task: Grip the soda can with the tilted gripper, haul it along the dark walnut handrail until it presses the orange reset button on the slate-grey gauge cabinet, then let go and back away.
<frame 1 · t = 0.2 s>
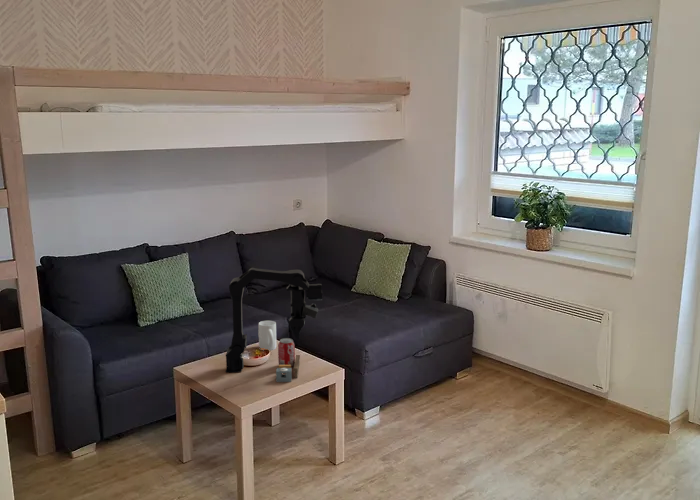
hand: (298, 336, 276), 15 cm above the table, tool pointing down, fingers open, 9 cm apart
soda can: (286, 367, 281), on the table
gauge cabinet: (284, 380, 267), on the table
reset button: (284, 370, 270), point 3 cm above the table, slide at 0.0 cm
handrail: (297, 370, 277), on the table
mug: (268, 349, 302), on the table
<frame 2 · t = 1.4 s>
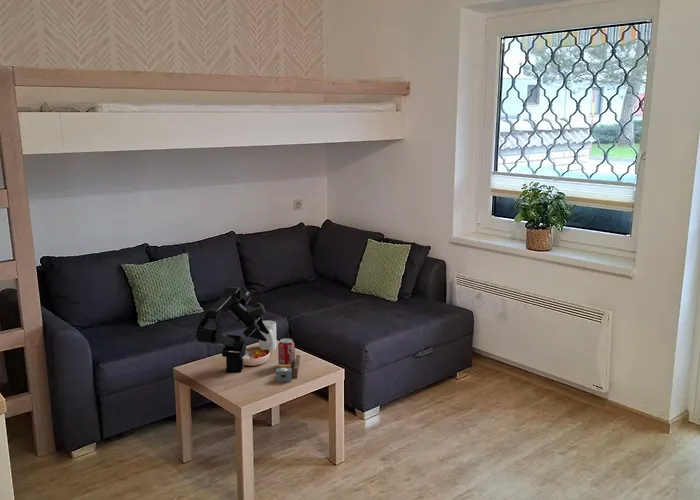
hand: (267, 337, 278), 14 cm above the table, tool tilted 45°, fingers open, 9 cm apart
nothing on the table moved.
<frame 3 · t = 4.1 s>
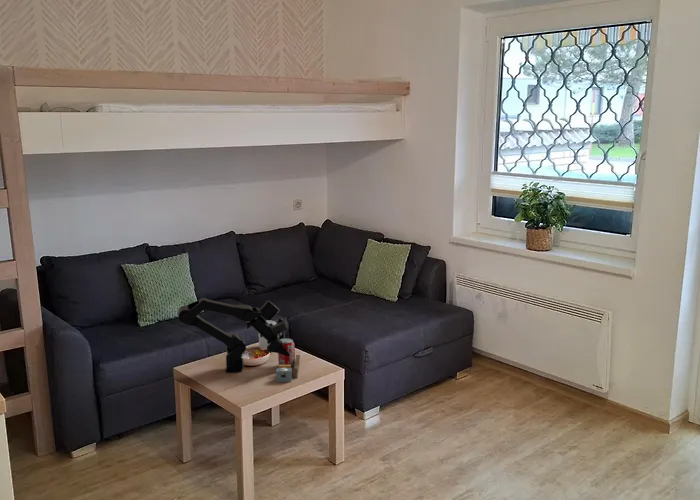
hand: (289, 352, 280), 7 cm above the table, tool tilted 45°, fingers closed on soda can, 7 cm apart
soda can: (286, 367, 281), on the table, touching gripper
everything else where it was.
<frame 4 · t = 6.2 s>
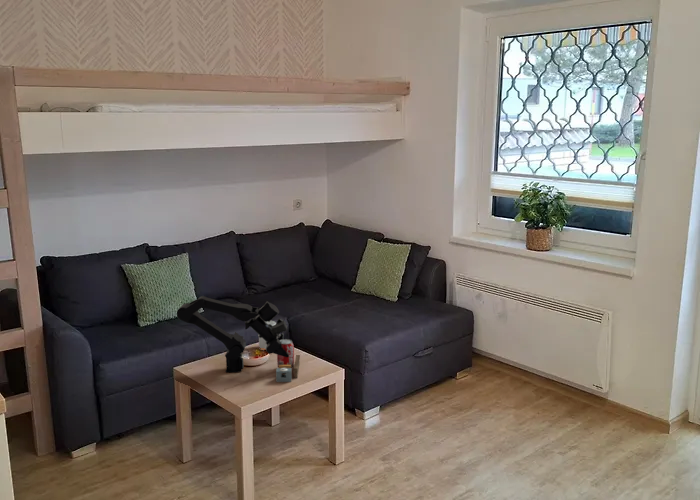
hand: (288, 353, 277), 7 cm above the table, tool tilted 45°, fingers closed on soda can, 7 cm apart
soda can: (285, 368, 278), on the table, touching gripper
everything else where it was.
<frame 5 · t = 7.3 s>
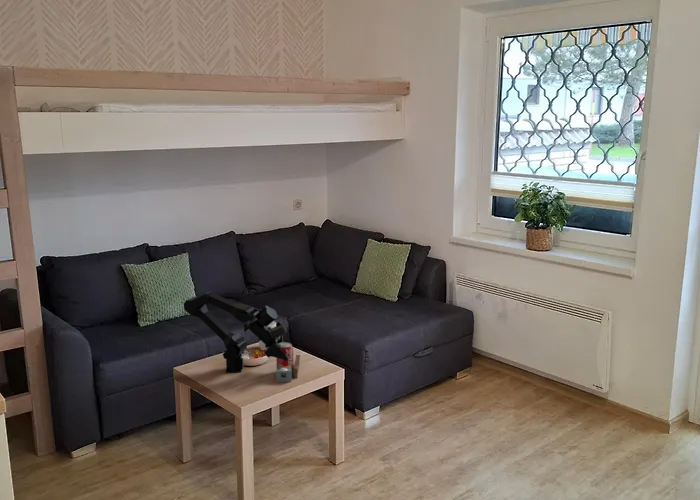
hand: (288, 356, 273), 7 cm above the table, tool tilted 45°, fingers closed on soda can, 7 cm apart
soda can: (285, 371, 274), point 1 cm above the table, touching gripper, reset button
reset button: (284, 372, 269), point 3 cm above the table, slide at 1.7 cm, touching soda can
everything else where it was.
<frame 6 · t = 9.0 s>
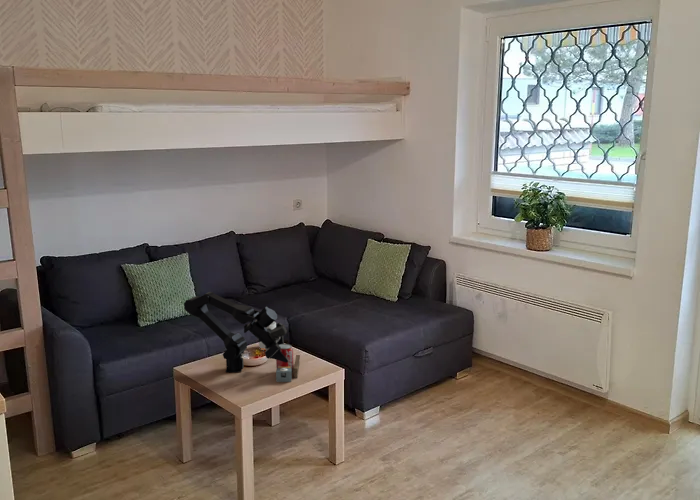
hand: (288, 357, 273), 7 cm above the table, tool tilted 45°, fingers open, 9 cm apart
everything else where it was.
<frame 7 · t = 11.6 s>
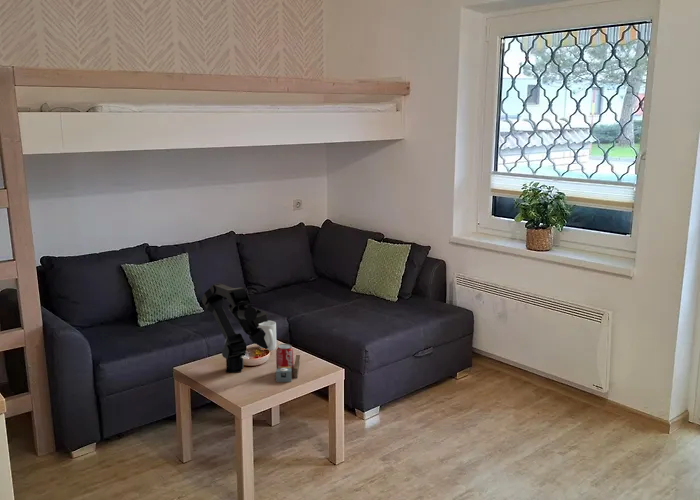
hand: (263, 344, 274), 12 cm above the table, tool tilted 35°, fingers open, 9 cm apart
nothing on the table moved.
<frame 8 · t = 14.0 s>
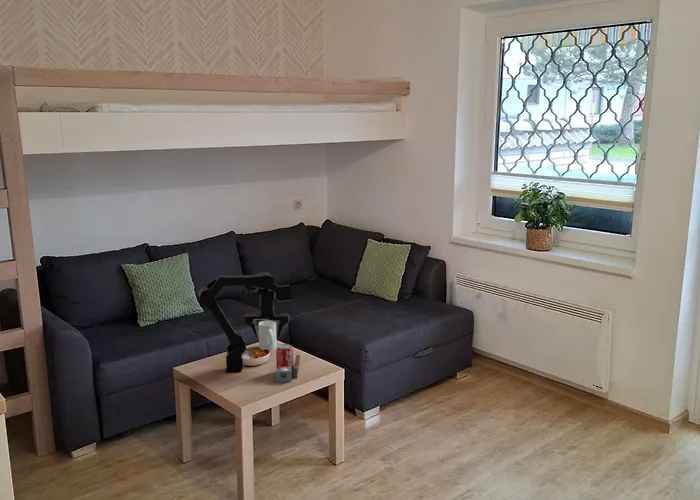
hand: (267, 337, 279), 13 cm above the table, tool pointing down, fingers open, 9 cm apart
nothing on the table moved.
at the end: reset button slide at 2.0 cm; soda can 7.0 cm from the gauge cabinet (horizontally); soda can tilted 1° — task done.
